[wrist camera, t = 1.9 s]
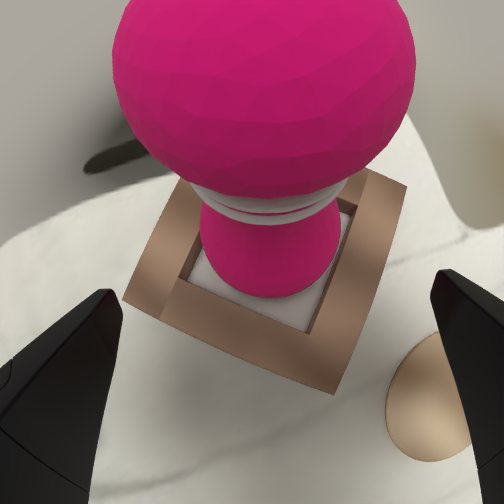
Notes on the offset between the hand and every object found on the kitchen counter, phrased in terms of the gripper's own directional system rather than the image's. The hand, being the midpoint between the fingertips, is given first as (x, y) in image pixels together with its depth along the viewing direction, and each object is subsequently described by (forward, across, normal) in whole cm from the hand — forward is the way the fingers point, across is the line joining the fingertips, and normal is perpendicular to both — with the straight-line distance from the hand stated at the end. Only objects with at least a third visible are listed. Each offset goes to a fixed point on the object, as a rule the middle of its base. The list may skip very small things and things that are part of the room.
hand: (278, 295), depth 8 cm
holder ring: (+12, 0, +6) cm, 13 cm away
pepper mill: (+12, 0, +6) cm, 13 cm away
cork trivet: (+3, -12, +14) cm, 19 cm away
